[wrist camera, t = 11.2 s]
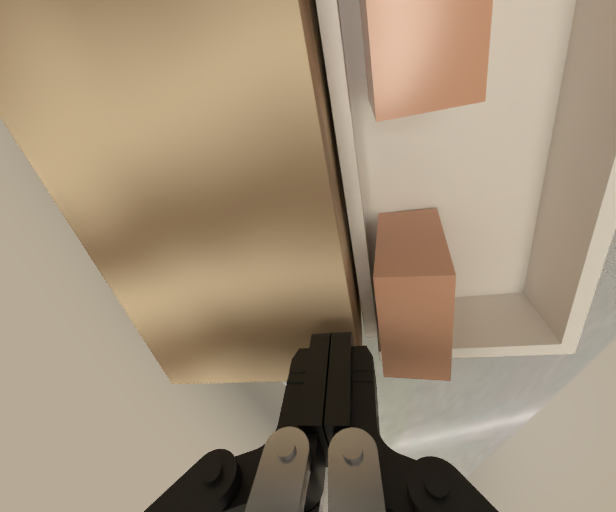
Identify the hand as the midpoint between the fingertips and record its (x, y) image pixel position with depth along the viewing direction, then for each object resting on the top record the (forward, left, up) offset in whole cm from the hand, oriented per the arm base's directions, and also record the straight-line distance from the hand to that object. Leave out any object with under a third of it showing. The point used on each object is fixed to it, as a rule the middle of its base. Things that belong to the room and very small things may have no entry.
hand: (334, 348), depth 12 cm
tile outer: (-1, +2, -3) cm, 3 cm away
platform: (-6, -4, -6) cm, 9 cm away
